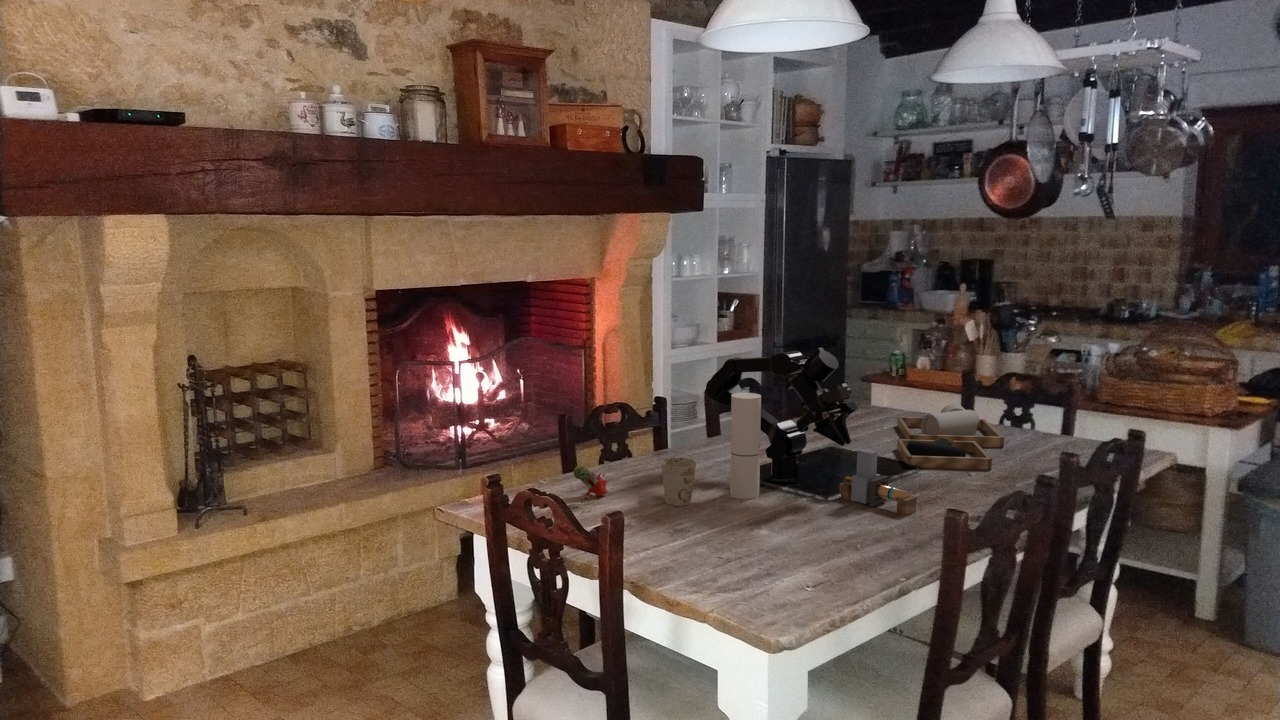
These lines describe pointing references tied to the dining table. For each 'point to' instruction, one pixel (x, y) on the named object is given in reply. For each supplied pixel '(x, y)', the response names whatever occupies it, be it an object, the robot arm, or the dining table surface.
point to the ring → (872, 490)
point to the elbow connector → (951, 422)
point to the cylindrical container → (745, 445)
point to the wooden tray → (976, 462)
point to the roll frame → (983, 441)
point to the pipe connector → (935, 448)
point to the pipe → (883, 491)
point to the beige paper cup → (678, 480)
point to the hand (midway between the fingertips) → (846, 444)
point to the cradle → (903, 505)
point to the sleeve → (864, 475)
